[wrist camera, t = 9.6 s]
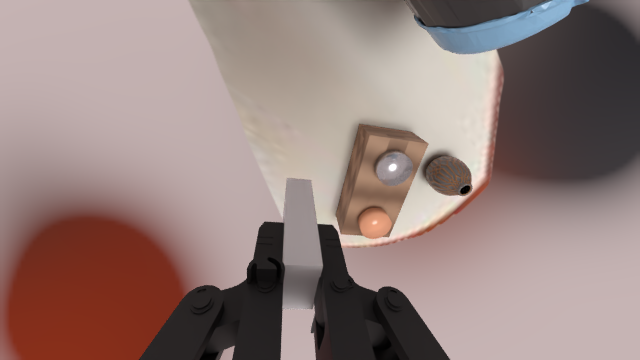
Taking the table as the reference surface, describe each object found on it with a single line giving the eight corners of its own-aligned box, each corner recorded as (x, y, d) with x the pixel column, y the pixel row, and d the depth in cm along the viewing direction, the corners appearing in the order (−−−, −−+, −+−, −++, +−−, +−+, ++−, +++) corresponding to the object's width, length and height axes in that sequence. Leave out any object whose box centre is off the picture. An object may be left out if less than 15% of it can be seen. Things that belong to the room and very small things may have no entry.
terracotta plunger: (356, 192, 44) (365, 213, 39) (383, 195, 45) (395, 215, 40) (349, 215, 47) (357, 237, 41) (375, 217, 48) (385, 239, 42)
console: (359, 124, 40) (369, 135, 35) (411, 132, 42) (428, 143, 36) (335, 214, 49) (341, 234, 44) (379, 218, 51) (388, 237, 46)
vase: (460, 160, 46) (494, 182, 38) (437, 186, 49) (464, 212, 41) (437, 145, 44) (467, 165, 36) (413, 174, 46) (437, 198, 39)
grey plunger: (371, 137, 40) (384, 152, 34) (400, 142, 41) (418, 156, 35) (362, 166, 42) (373, 184, 37) (390, 169, 43) (405, 187, 38)
